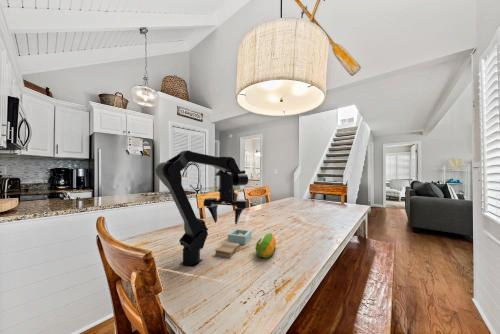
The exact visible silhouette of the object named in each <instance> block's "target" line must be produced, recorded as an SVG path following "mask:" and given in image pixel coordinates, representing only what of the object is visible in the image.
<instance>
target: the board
mask: <svg viewBox="0 0 500 334" xmlns="http://www.w3.org/2000/svg"><path fill="white" fill-rule="evenodd" d="M240 247H241V244H238V243H231V242H228V241H225V242H224V243H223V244H222V245H220V246H219V247H218V248H216V249H215V256H217V257H224V258H232V257H233V256H234V255H235V254H236V252H237V251H238V250H240Z"/></svg>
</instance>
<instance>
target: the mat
mask: <svg viewBox="0 0 500 334" xmlns="http://www.w3.org/2000/svg"><path fill="white" fill-rule="evenodd" d="M213 257H216V258H218V255H213ZM219 258H221V259H224V256H219ZM225 259H228V260H231V257H225Z"/></svg>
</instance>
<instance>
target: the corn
mask: <svg viewBox="0 0 500 334" xmlns="http://www.w3.org/2000/svg"><path fill="white" fill-rule="evenodd" d="M276 240H277V239H276V238H275V235H273V233H272V232H270V233H267V234H265V236H264V237H263V238H262V237H260V238H259V240H257V242H256V244H255V251H256V254H257V256H258V258H263V259H268V258H271V257H272V255H273V254H274V253H275V252H276V247H275V246H276V243H277V241H276Z"/></svg>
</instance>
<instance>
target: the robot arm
mask: <svg viewBox="0 0 500 334" xmlns="http://www.w3.org/2000/svg"><path fill="white" fill-rule="evenodd" d="M189 163H193V164H200V165H205V166H209V167H210V166H211V167H213V168H215V169H218V171H217V172H216V173H215V174H214V175H215V176H216V177H219V189H218V191H217V192H219V197H218V198H217V197H208V198H204V200H203V202H202V204H203V205H202V206H203V207H205V208H206V209H208V212H209V213H210V214H211V217H212V219H213V221H214V223H217V222H218V205H220V206H232V207H233V206H234V207H236V208H235V209H234V224H235V225H237V224H238V223H239V221H240V220H239V219H240V217H241V214H242V212H243V211H244V210H245V209H248V208H249V207H250V201H249V200H248V199H238V193H236V192H235V188H234V187H238V186H247V184H248V183H249V177H248V174H247V173H246V170H241V169H240V168H239V166H238V164H237V163H236V159H235V157H234V156H215V155H214V156H213V155H209V154H203V153H199V152H195V151H191V150H182V151H180V152H179V153H178V154H176V155H174V156H173V157H171V158H170V159H168V160H166V161H163V162H160V163H159V164H158V165H156V168H155V174H156V176H157V177H158V179H159V180H160V181H161V183H162V184H163V185H164V186H165V187H166V188H167V189H168V191H169V193H170V195H171V196H172V199H173V202H174V204H175V206H176V208H177V209H178V212H179V214H180V217H181V218H182V220H183V223H184V224H183V230H184V234H183V235H182V236H181V237H180V239H179V241H178V242H179V244H180V246H182V247H183V249H182V261H181V262H180V263H179V266H184V267H190V268H196V267H197V266H199V264H200V263H202V262H203V261H204V259H203V258H201V250H202V249H204V247H205V243H206V240H207V238H208V236H209V233H208V231H209V228H208V226H207V225H206V222H205V220H203V219H201V218H198V217H197V215H196V214H195V211H194V209H193V207H192V205H191V202H190V200H189V199H188V195H187V193H186V192H185V189H184V186H183V184H182V182H183V181H182V180H183V179H182V177H183V176H182V173H181V172H182V171H183V170H184V169H185V168H186V167H187V166H188V165H189Z"/></svg>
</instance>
